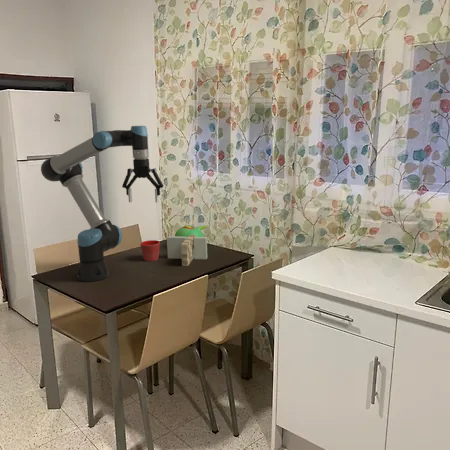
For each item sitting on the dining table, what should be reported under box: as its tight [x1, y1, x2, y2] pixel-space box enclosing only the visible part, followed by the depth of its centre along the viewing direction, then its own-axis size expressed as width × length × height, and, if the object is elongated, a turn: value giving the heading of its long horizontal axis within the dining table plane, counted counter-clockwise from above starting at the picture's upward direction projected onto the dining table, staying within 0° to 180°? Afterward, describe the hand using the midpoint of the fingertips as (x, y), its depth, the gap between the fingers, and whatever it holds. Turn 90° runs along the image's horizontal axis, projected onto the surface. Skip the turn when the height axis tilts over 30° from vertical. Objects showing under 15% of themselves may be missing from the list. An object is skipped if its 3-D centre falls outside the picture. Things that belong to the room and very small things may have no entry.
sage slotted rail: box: [166, 235, 208, 260], centre depth 255 cm, size 22×3×12 cm, turn 81°
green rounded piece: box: [174, 224, 208, 237], centre depth 273 cm, size 18×17×15 cm
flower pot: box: [140, 239, 161, 262], centre depth 255 cm, size 11×11×10 cm
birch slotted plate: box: [181, 235, 195, 267], centre depth 251 cm, size 20×3×12 cm, turn 171°
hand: (143, 202), depth 224 cm, fingers open, 13 cm apart
